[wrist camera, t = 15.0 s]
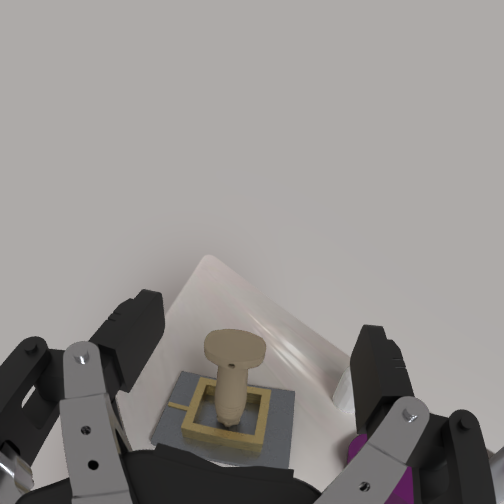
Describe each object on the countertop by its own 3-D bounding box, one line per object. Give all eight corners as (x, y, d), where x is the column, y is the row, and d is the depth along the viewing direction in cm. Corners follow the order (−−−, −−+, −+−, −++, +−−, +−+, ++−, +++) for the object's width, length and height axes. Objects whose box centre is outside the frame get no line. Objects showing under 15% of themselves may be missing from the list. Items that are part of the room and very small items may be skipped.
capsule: (332, 387, 44) (346, 353, 40) (362, 389, 43) (378, 356, 40) (332, 412, 39) (348, 379, 35) (364, 413, 38) (383, 382, 35)
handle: (208, 402, 38) (209, 325, 32) (253, 409, 38) (267, 333, 32) (202, 428, 34) (199, 355, 27) (250, 436, 34) (264, 365, 27)
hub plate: (293, 395, 42) (298, 381, 40) (286, 472, 29) (291, 463, 28) (182, 374, 44) (180, 360, 42) (151, 444, 31) (146, 432, 30)
